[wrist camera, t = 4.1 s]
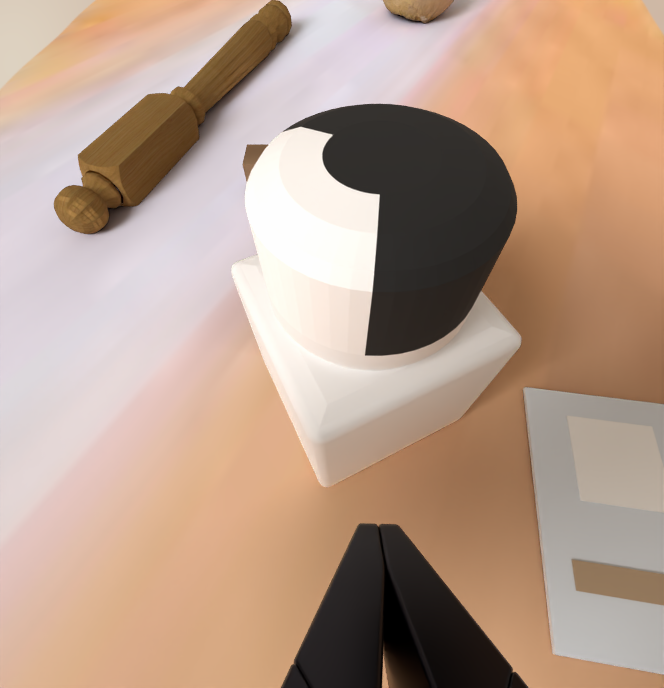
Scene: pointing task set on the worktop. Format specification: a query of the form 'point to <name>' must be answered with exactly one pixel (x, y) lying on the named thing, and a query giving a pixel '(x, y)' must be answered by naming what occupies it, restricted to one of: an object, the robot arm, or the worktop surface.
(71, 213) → the tap handle
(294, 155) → the medicine bottle
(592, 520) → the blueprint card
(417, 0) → the onion
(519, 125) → the worktop surface
